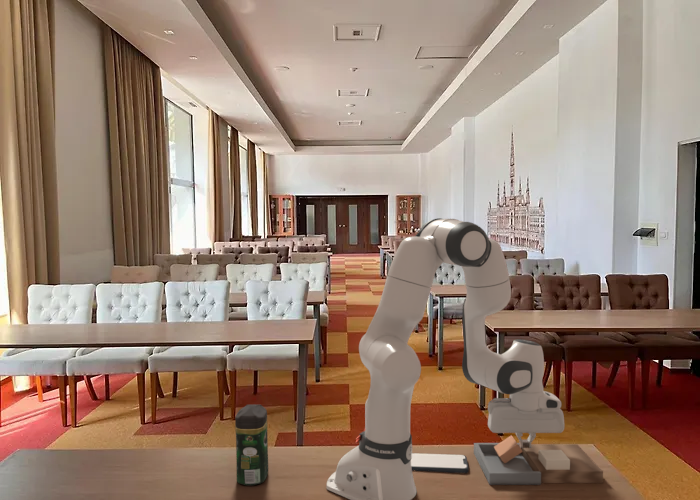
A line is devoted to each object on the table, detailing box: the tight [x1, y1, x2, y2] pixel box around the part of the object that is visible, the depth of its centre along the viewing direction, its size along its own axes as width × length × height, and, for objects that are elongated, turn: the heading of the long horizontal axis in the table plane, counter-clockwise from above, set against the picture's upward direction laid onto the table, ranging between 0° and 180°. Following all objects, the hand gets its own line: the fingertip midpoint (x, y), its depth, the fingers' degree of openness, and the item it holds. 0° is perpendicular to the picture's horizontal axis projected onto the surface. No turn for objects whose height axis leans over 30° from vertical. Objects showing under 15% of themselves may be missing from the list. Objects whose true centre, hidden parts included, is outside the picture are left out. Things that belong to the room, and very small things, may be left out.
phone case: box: [411, 452, 469, 474], centre depth 149 cm, size 9×2×16 cm
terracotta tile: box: [494, 434, 523, 464], centre depth 150 cm, size 6×6×2 cm
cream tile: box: [538, 450, 570, 470], centre depth 142 cm, size 6×6×2 cm
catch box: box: [473, 442, 542, 486], centre depth 146 cm, size 13×18×3 cm
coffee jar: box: [234, 404, 269, 487], centre depth 141 cm, size 10×8×19 cm
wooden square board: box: [521, 443, 604, 484], centre depth 146 cm, size 16×16×3 cm
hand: (525, 447), depth 150 cm, fingers closed
